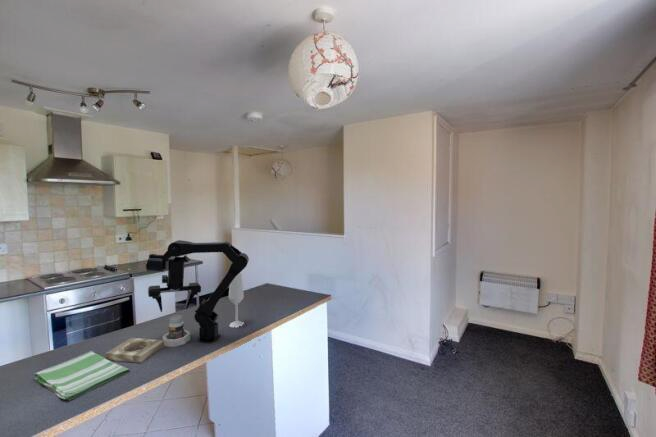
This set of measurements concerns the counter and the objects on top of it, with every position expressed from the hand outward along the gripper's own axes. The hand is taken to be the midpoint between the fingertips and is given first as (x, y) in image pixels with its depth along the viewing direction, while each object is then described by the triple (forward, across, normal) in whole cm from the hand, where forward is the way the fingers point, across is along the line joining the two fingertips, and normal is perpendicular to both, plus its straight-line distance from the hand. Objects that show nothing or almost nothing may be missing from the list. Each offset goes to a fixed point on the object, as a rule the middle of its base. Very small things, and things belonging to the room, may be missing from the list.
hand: (174, 310), depth 124 cm
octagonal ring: (+13, -1, +1) cm, 13 cm away
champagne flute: (+11, -27, -2) cm, 29 cm away
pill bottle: (+13, -2, +1) cm, 13 cm away
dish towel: (+15, +28, +11) cm, 34 cm away
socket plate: (+14, +12, +3) cm, 19 cm away
